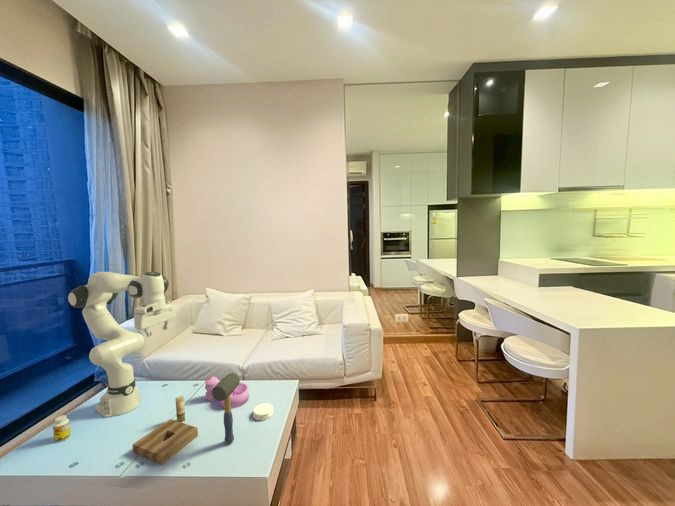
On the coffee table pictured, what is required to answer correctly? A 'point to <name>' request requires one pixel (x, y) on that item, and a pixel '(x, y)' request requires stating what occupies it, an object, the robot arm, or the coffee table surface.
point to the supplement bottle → (61, 428)
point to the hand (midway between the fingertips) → (157, 332)
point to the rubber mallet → (226, 402)
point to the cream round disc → (263, 411)
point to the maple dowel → (180, 409)
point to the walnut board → (163, 450)
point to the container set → (236, 396)
